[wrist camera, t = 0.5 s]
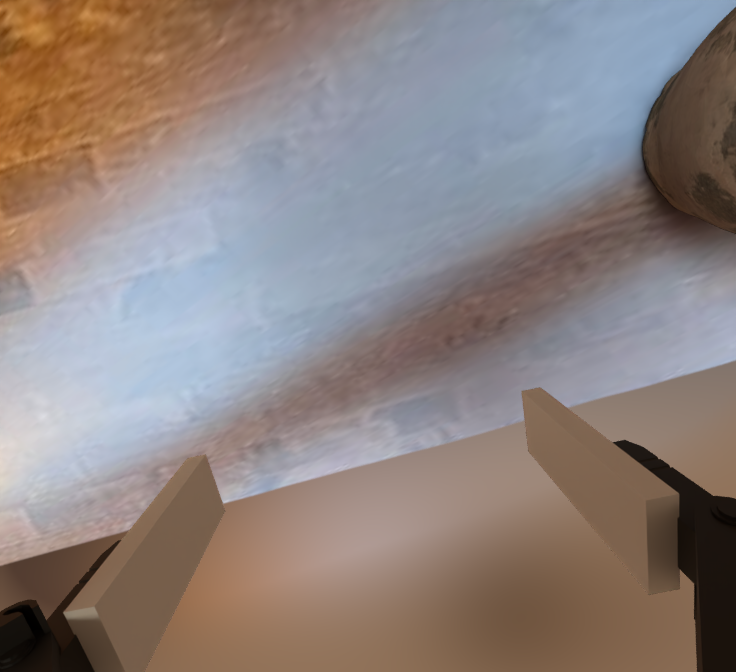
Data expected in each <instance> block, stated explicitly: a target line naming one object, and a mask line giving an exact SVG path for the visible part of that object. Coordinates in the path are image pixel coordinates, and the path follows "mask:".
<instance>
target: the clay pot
mask: <svg viewBox="0 0 736 672" xmlns="http://www.w3.org/2000/svg"><path fill="white" fill-rule="evenodd" d="M646 128H647V131H646V133H645V136H644V140H643V156H644V161H645V165H646V169H647V172H648V174H649V176H650V178H651V179H652V181H653V183H654V184H655V186H656V187H657V189H658V190H659V191H660V192H661V193H662V194H663V196H664V197H665V198H666V199H667V200H668V202H669V203H670V204H671V205H673V206H674V207H675V208H676V209H678V210H680V211H683V212H685V213H687V214H690V215H692V216H695V217H698V218H700V219H702V220H704V221H706V222H708V223H710V224H713V225H715V226H717V227H719V228H721V229H724V230H726V231H729V232H732V233H735V234H736V7H735V8H734V9H733V10H732V11H731V12H730V13H729V14H728V15H727V16H726V17H725V18H724V19H723V20H722V21H721V22H720V23H719V24H718V25H717V26H716V27H715V28H714V29H713V30H712V31H711V33H710V34H709V35H708V36H707V37H706V38H705V40H704V41H703V42H702V43H701V44H700V46H699V47H698V48H697V49H696V51H695V52H694V54H693V55H692V56H691V58H690V59H689V60H688V62H687V63H686V64H685V65H684V67H683V68H682V69H681V70H680V71H679V72H678V73H676V74H675V75H674V76H673V77H671V79H670V80H669V81H668V82H667V83H666V85H665V86H664V88H663V90H662V94H661V96H660V97H659V98H658V99H657V100H656V102H655V103H654V105H653V107H652V110H651V112H650V115H649V118H648V121H647V124H646Z"/></svg>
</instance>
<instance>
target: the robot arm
mask: <svg viewBox="0 0 736 672" xmlns="http://www.w3.org/2000/svg"><path fill="white" fill-rule="evenodd" d="M522 400H523V409H524V418H525V427H526V436H527V444H528V451H529V453H530V454H531V455H532V456H533V457H534V458H535V460H536V461H537V462H538V463H539V465H540V466H541V467H542V468H543V469H544V471H545V472H546V473H547V474H548V475H549V476H550V478H551V479H552V480H553V481H554V482H555V484H556V485H557V486H558V487H559V488H560V490H561V491H562V492H563V493H564V494H565V496H566V497H567V498H568V499H569V500H570V502H571V503H572V504H573V505H574V506H575V507H576V509H577V510H578V511H579V512H580V514H581V515H582V516H583V517H584V518H585V519H586V521H587V522H588V523H589V524H590V525H591V527H592V528H593V529H594V530H595V531H596V533H597V534H598V535H599V536H600V537H601V539H602V540H603V541H604V542H605V543H606V545H607V546H608V547H609V548H610V549H611V551H612V552H613V553H614V554H615V555H616V556H617V558H618V559H619V560H620V561H621V562H622V564H623V565H624V566H625V567H626V568H627V570H628V571H629V572H630V573H631V574H632V576H633V577H634V578H635V579H636V580H637V581H638V583H639V584H640V585H641V586H642V587H643V589H644V590H645V591H646V592H647V593H648V595H651V594H656V593H662V592H667V591H672V590H678V589H680V576H679V575H680V570H681V571H682V572H683V573H684V574H685V575H686V576H687V577H688V578H689V579H690V580H691V581H692V582H693V583H694V619H695V627H696V654H697V672H736V499H734V498H730V497H721V496H713V495H711V494H710V493H708V492H707V491H705V490H704V489H703V488H701V487H700V486H698V485H697V484H695V483H694V482H693V481H691V480H690V479H688V478H687V477H685V476H684V475H683V474H681V473H680V472H678V471H677V470H675V469H674V468H673V467H672V468H670V466H669V465H668V464H667V463H665V462H664V461H663V460H661V459H658V457H657V456H655V455H654V454H653V453H651V452H650V451H648V450H647V449H645V448H644V447H642V446H639V445H637V444H634V443H631V442H629V441H626V440H622V441H617V442H611V441H610V440H608V439H607V438H606V437H604V436H603V435H602V434H600V433H599V432H598V431H597V430H595V429H594V428H593V427H591V426H590V425H589V424H587V423H586V422H585V421H583V420H582V419H581V418H580V417H578V416H577V415H576V414H574V413H573V412H572V411H570V410H569V409H568V408H567V407H565V406H564V405H563V404H561V403H560V402H559V401H557V400H556V399H555V398H553V397H552V396H551V395H550V394H548V393H547V392H546V391H544V390H543V389H542V388H535V389H530V390H525V391H522ZM224 512H225V509H224V506H223V503H222V500H221V497H220V494H219V491H218V488H217V485H216V482H215V479H214V477H213V474H212V471H211V468H210V465H209V462H208V459H207V456H206V454H205V455H200V456H195V457H190V458H187V460H186V461H185V462H184V463H183V465H182V466H181V467H180V468H179V470H178V471H177V472H176V473H175V474H174V476H173V477H172V478H171V479H170V481H169V482H168V483H167V484H166V486H165V487H164V488H163V489H162V491H161V492H160V493H159V494H158V496H157V497H156V498H155V499H154V501H153V502H152V503H151V504H150V505H149V507H148V508H147V509H146V510H145V512H144V513H143V514H142V515H141V517H140V518H139V519H138V520H137V522H136V523H135V524H134V525H133V527H132V528H131V529H130V530H129V532H128V533H127V534H126V535H125V537H124V538H123V539H122V540H120V541H117V542H116V543H115V544H114V545H112V546H111V547H110V548H109V549H108V550H106V551H105V552H104V553H103V554H102V555H101V556H100V557H99V558H98V559H97V561H96V562H95V563H94V564H93V565H92V567H91V568H90V570H89V572H87V573H86V574H85V575H84V576H83V577H82V579H81V580H80V581H79V584H77V585H76V586H75V587H74V588H73V590H72V591H71V592H70V593H69V594H68V595H67V597H66V598H65V599H64V600H63V601H62V603H61V604H60V605H59V606H58V607H57V609H56V610H55V611H54V612H53V614H52V615H51V616H50V617H49V618H48V619H47V621H46V619H45V617H44V615H43V613H42V611H41V609H40V608H39V605H38V604H37V602H36V600H25V601H22V602H18V603H16V604H14V605H12V606H10V607H8V608H6V609H4V610H2V611H1V612H0V672H145V670H146V668H147V666H148V663H149V662H150V660H151V658H152V656H153V654H154V652H155V650H156V648H157V646H158V644H159V642H160V640H161V638H162V636H163V634H164V632H165V630H166V628H167V626H168V624H169V622H170V620H171V618H172V616H173V614H174V612H175V610H176V608H177V606H178V604H179V602H180V600H181V598H182V596H183V594H184V592H185V590H186V588H187V586H188V584H189V582H190V580H191V578H192V576H193V574H194V572H195V570H196V568H197V566H198V564H199V562H200V560H201V558H202V556H203V554H204V552H205V550H206V548H207V546H208V544H209V542H210V540H211V538H212V536H213V534H214V532H215V530H216V528H217V526H218V524H219V522H220V520H221V518H222V516H223V514H224Z"/></svg>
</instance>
